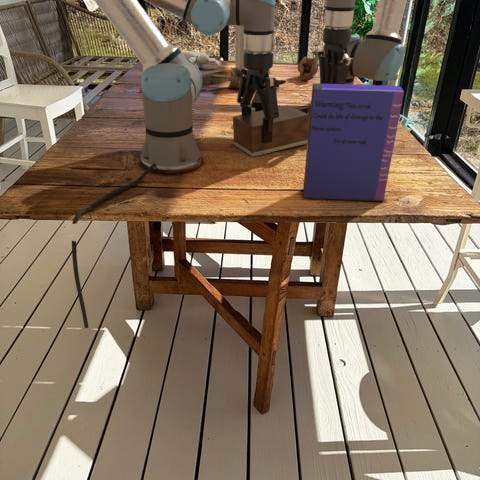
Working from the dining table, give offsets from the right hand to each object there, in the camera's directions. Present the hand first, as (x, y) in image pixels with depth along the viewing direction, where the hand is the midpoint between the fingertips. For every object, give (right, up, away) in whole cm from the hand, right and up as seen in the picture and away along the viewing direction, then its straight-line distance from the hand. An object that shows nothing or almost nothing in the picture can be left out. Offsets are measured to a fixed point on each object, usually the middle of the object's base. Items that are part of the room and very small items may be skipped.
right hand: (328, 113), depth 141 cm
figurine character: (-19, +2, +15) cm, 25 cm away
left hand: (-22, -9, -9) cm, 25 cm away
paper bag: (-20, +39, +77) cm, 89 cm away
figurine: (-23, +24, +51) cm, 61 cm away
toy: (-50, +44, +85) cm, 108 cm away
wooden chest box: (-18, -10, -6) cm, 21 cm away
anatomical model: (+3, +34, +68) cm, 76 cm away
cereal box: (-3, -27, -33) cm, 43 cm away
